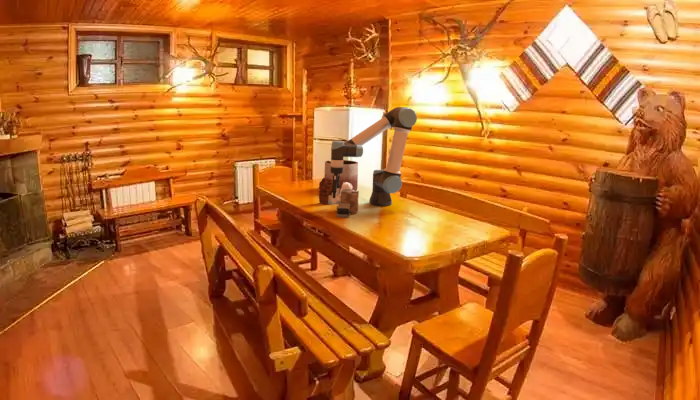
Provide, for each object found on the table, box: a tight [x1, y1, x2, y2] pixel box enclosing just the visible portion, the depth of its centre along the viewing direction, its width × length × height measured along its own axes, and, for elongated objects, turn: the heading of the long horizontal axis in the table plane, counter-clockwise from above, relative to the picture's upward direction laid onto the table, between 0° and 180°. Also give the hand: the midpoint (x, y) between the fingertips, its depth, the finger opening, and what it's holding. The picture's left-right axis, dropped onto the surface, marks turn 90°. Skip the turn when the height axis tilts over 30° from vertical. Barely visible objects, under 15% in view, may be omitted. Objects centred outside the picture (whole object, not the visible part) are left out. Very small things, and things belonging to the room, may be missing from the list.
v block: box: [336, 203, 351, 219], centre depth 258 cm, size 7×10×6 cm
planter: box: [323, 159, 359, 194], centre depth 329 cm, size 25×25×22 cm
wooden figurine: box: [318, 176, 333, 205], centre depth 287 cm, size 12×6×18 cm, turn 116°
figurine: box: [339, 182, 354, 196], centre depth 301 cm, size 10×10×12 cm
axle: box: [327, 195, 359, 207], centre depth 268 cm, size 18×6×6 cm, turn 84°
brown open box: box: [341, 189, 360, 215], centre depth 268 cm, size 10×10×13 cm
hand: (335, 200), depth 268 cm, fingers open, 13 cm apart
